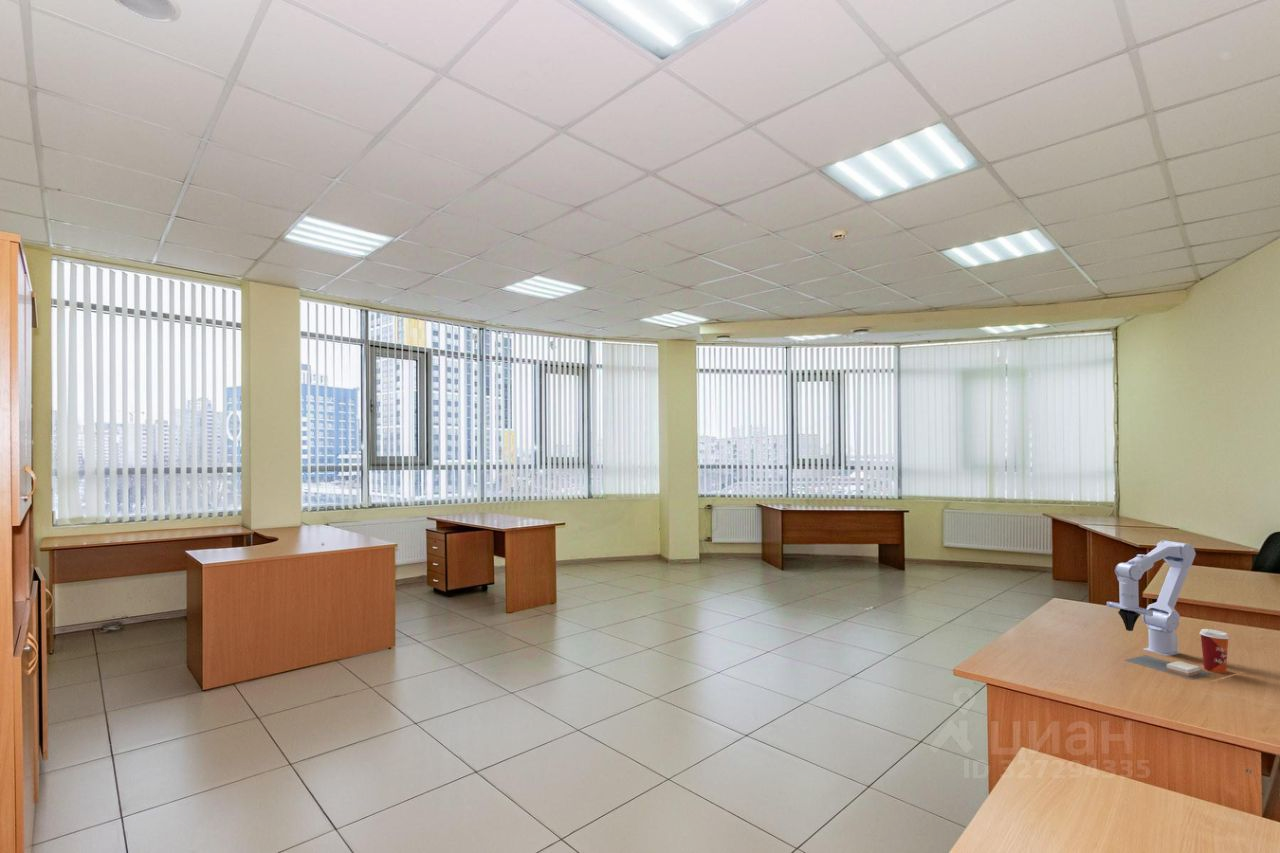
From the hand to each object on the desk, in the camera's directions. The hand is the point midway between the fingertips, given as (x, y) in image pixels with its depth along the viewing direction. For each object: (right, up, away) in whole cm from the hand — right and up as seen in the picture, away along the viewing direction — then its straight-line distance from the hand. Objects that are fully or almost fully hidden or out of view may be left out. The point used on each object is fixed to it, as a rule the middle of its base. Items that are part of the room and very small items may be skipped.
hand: (1129, 630), depth 228 cm
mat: (+3, -9, -13) cm, 16 cm away
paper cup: (+17, -9, -16) cm, 25 cm away
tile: (+2, -7, -16) cm, 18 cm away
